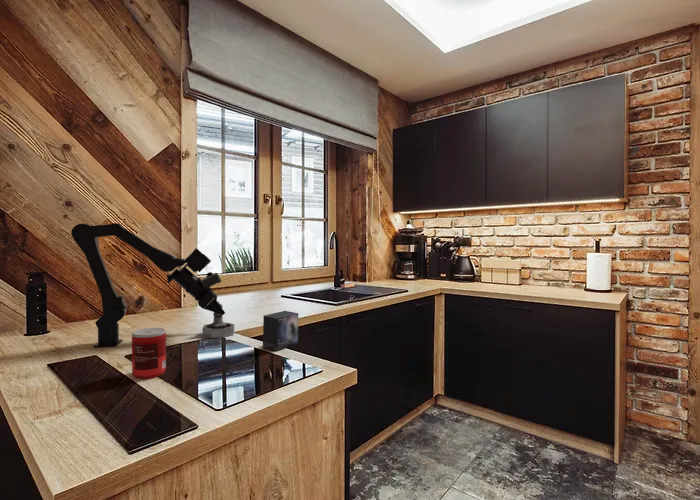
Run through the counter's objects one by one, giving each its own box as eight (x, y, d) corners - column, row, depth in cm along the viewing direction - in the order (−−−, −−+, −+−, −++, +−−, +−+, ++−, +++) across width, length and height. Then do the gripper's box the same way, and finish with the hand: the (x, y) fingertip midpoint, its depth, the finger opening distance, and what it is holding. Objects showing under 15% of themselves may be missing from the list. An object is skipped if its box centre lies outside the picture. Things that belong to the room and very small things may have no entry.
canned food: (157, 366, 103) (157, 325, 102) (171, 373, 98) (171, 330, 97) (126, 374, 97) (126, 331, 96) (140, 382, 92) (139, 336, 91)
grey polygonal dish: (232, 337, 133) (232, 328, 133) (201, 338, 131) (201, 330, 131) (234, 330, 143) (234, 322, 143) (205, 331, 141) (205, 323, 141)
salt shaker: (217, 337, 133) (217, 303, 133) (205, 334, 136) (205, 301, 136) (230, 333, 138) (230, 300, 138) (219, 331, 141) (219, 299, 141)
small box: (277, 351, 117) (277, 317, 117) (261, 348, 121) (261, 315, 120) (299, 343, 126) (299, 312, 126) (284, 340, 130) (284, 310, 129)
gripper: (209, 267, 126) (243, 298, 131) (204, 263, 143) (235, 291, 148) (183, 292, 123) (219, 323, 128) (181, 285, 140) (213, 313, 145)
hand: (222, 311), depth 137 cm, fingers open, 9 cm apart
